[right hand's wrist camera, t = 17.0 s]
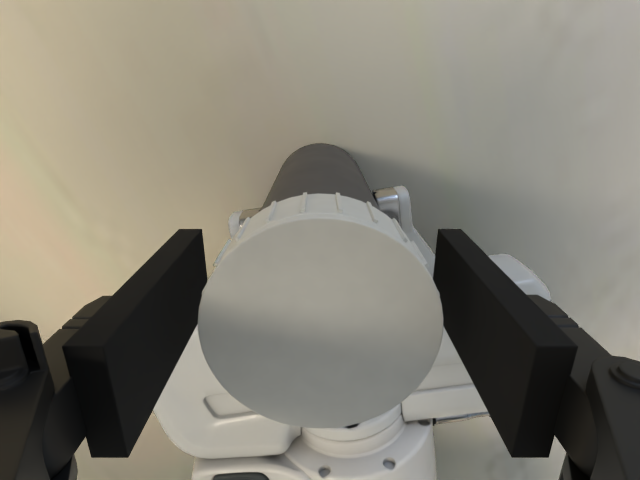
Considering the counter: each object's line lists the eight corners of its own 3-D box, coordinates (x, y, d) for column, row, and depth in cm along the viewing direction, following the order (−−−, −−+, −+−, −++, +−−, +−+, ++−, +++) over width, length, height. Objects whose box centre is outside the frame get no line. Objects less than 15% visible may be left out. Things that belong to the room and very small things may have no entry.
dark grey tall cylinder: (289, 234, 26) (252, 414, 12) (267, 154, 24) (192, 249, 10) (369, 217, 26) (433, 381, 11) (353, 134, 24) (405, 203, 10)
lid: (441, 351, 13) (464, 402, 11) (255, 394, 13) (243, 450, 11) (401, 163, 11) (420, 182, 9) (183, 224, 11) (152, 255, 9)
